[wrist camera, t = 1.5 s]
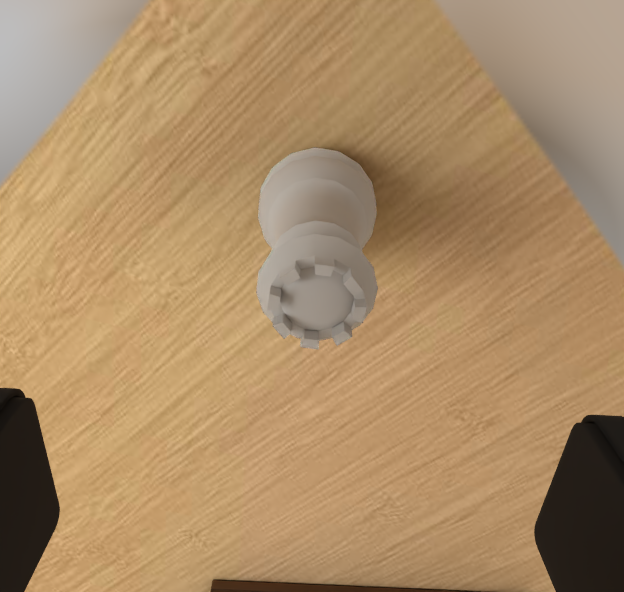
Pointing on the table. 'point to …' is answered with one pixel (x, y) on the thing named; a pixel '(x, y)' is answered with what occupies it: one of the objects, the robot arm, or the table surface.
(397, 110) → the table surface
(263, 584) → the rack
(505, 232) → the table surface
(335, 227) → the rook chess piece
